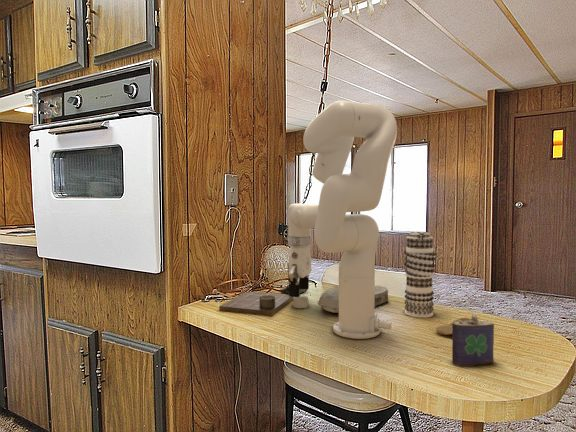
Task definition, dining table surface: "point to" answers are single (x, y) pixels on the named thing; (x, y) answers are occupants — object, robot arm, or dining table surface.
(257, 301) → the board
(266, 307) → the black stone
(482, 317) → the dining table surface
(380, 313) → the dining table surface
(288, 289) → the dark post with base
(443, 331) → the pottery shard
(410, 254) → the decorative candle
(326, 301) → the fossil stone
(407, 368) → the dining table surface
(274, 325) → the dining table surface
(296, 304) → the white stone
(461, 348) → the flask
